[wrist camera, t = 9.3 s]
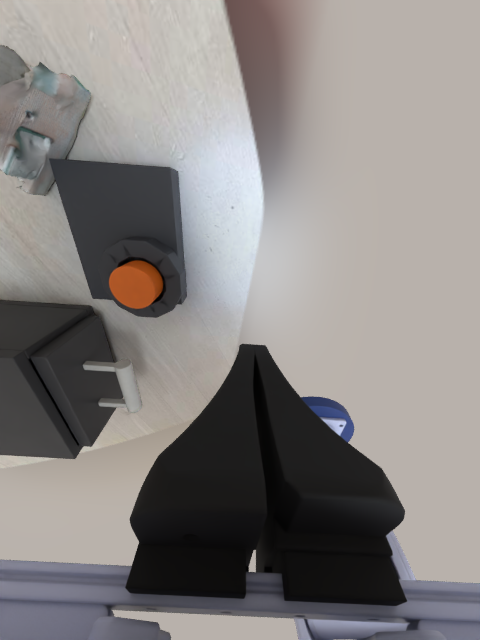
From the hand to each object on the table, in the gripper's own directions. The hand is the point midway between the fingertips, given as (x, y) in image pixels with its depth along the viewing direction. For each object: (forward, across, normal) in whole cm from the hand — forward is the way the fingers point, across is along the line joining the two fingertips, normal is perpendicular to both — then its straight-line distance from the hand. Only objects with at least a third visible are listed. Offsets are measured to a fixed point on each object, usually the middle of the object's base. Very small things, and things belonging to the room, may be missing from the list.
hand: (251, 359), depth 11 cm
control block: (+10, +10, -4) cm, 15 cm away
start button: (+7, +9, -1) cm, 11 cm away
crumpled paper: (+10, +15, -11) cm, 21 cm away
